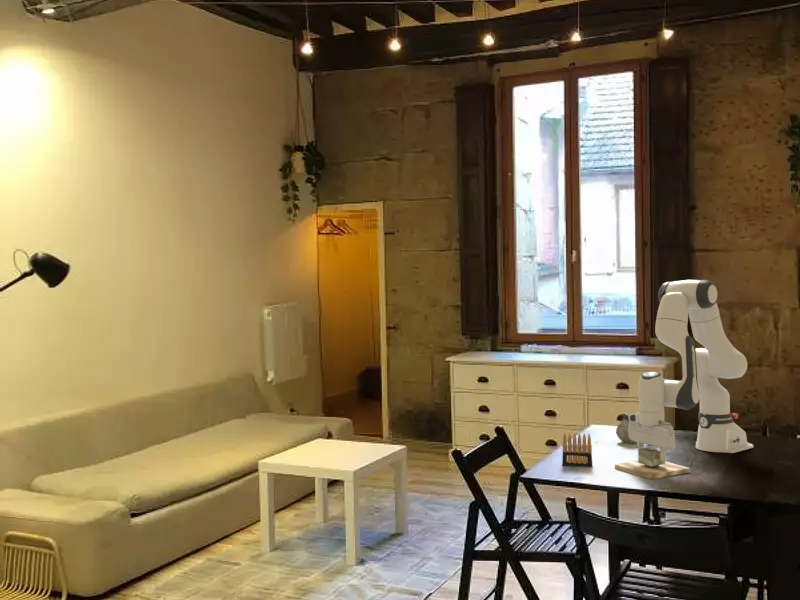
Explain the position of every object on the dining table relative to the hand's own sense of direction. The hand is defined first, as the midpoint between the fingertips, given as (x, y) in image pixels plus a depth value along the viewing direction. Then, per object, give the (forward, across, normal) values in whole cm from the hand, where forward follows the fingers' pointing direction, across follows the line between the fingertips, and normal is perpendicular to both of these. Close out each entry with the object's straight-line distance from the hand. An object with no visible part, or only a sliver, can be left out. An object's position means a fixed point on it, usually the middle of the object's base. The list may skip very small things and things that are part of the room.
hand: (651, 457), depth 308 cm
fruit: (+5, +39, -24) cm, 46 cm away
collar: (+2, 0, 0) cm, 2 cm away
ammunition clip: (+5, +19, +18) cm, 27 cm away
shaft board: (+5, 0, 0) cm, 5 cm away
